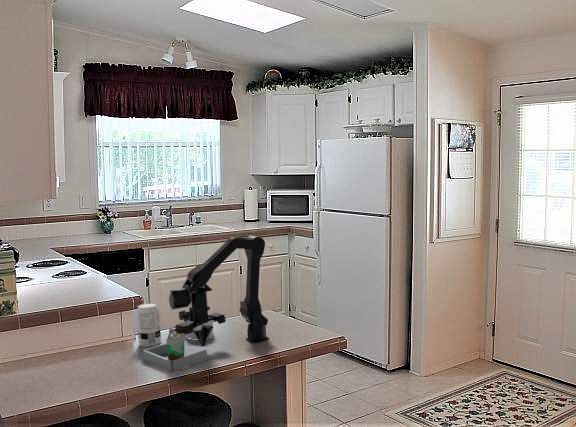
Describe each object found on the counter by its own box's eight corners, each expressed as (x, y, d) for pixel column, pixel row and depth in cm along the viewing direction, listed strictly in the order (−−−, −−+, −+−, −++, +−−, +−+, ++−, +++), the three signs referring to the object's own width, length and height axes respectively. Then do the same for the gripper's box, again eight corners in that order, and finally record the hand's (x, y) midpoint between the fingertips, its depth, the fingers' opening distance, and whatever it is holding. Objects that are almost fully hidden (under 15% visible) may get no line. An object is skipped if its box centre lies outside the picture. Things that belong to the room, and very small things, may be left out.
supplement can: (134, 344, 227) (132, 306, 226) (153, 339, 233) (150, 301, 232) (147, 349, 222) (144, 309, 220) (165, 343, 228) (162, 304, 226)
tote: (177, 349, 220) (176, 340, 219) (207, 360, 206) (206, 350, 206) (142, 359, 210) (142, 350, 210) (172, 372, 197) (171, 361, 196)
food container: (186, 366, 201) (184, 337, 200) (168, 368, 201) (166, 339, 200) (188, 354, 214) (186, 327, 213) (171, 355, 213) (169, 328, 212)
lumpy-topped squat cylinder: (207, 329, 243) (206, 308, 242) (217, 337, 231) (216, 316, 230) (182, 333, 239) (181, 312, 238) (191, 342, 227) (189, 320, 226)
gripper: (206, 295, 227) (209, 335, 228) (164, 306, 214) (168, 349, 216) (225, 299, 219) (228, 341, 220) (182, 311, 206) (186, 355, 208)
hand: (202, 346), depth 216 cm, fingers closed
